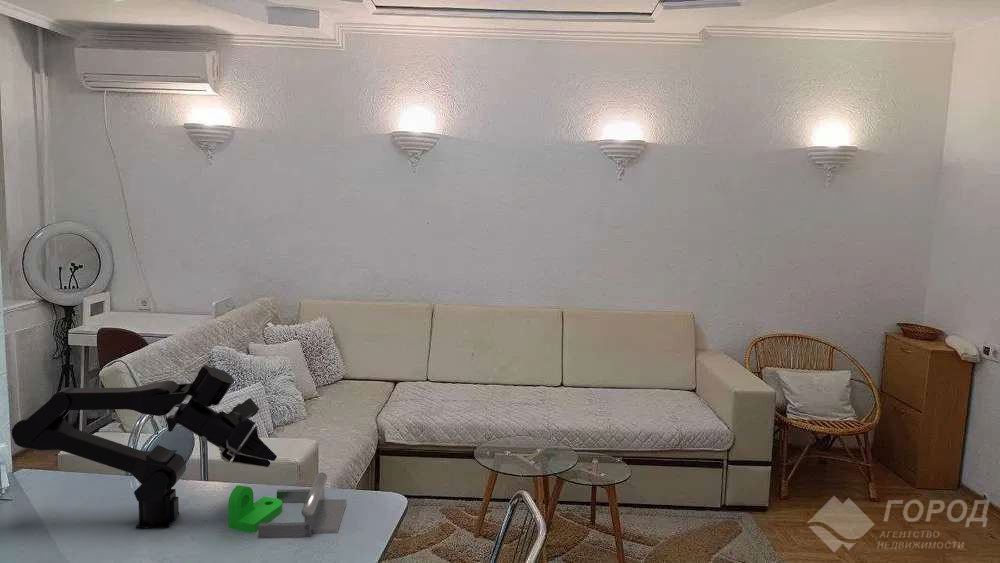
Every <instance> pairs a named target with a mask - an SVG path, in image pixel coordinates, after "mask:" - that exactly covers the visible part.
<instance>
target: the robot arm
mask: <svg viewBox="0 0 1000 563" xmlns="http://www.w3.org/2000/svg"><path fill="white" fill-rule="evenodd" d="M234 382H235V379H234V377H233V376H232V375H231V374H229V372H227V371H225V370H224V369H219V368H217V367H210V366H209V365H208V364H204V365H203V366H202V367H201V368H200V369H199V370H198V373H197V375H196V377H195V378H194V380H193V381H192V383H191V382H190V383H187V382H186V383H177V382H176V381H174V380H163V381H157V382H152V383H147V384H143V385H141V386H140V385H139V386H134V387H133V386H132V387H72V386H68V387H65V388H63V389H61V390H60V391H57V392H56V393H53V395H52V396H51V397H50V399H49V400H48V401H46V403H44V404H43V405H41V407H39V408H38V409H37V410H36V411H34V412H33V413H32V414H30V415H27V416H26V417H24V418H23V419H20V420H19V421H18V422H16V423H15V424H14V425H13V427H12V428H11V429H12V430H11V438H12V439H13V441H14V444H15V445H16V446H17V447H20V448H23V449H27V450H34V451H40V452H41V451H61V452H65V453H66V454H70V455H74V456H77V457H79V458H83V459H86V460H88V461H92V462H95V463H98V464H101V465H104V466H107V467H109V468H114V469H116V470H119V471H122V472H125V473H128V474H129V475H132V476H133V477H134V478H135V480H137V482H139V484H140V485H139V486H138V487H137V488H136V489H135V490H134V492H133V494H134V497H135V499H136V502H138V522H137V523H136V524H135V529H162V528H163V529H164V528H166V529H167V528H169V527H171V525H172V524H173V523H174V521H175V520H176V519H177V518H178V516H179V515H180V509H179V505H180V504H179V496H176V494H177V492H176V488H173V487H174V486H175V485H176V484H177V482H178V481H179V480H181V478H182V477H183V476H184V474H185V472H186V471H187V470H186V469H187V463H186V461H185V459H184V457H183V456H182V455H181V454H179V453H177V449H168V448H166V447H164V446H163V445H160V444H157V445H155V447H153V448H152V449H151V450H148V451H147V450H144V451H143V450H141V449H138V448H135V447H131V446H129V445H125V444H122V443H119V442H116V441H113V440H110V439H107V438H104V437H101V436H98V435H95V434H92V433H90V432H87V431H83V430H80V429H76V428H75V427H73V426H72V425H71V424H70V423H69V421H67V420H66V419H65V417H66V416H67V415H68V414H69V413H70V412H71V411H99V410H100V411H103V410H105V411H106V410H107V411H108V410H110V411H111V410H112V411H113V410H128V411H134V412H137V413H139V414H141V415H149V416H153V417H154V416H156V417H162V416H163V417H164V416H166V415H167V414H169V413H170V412H171V411H172V410H174V409H175V408H176V407H177V406H178V405H179V406H178V408H177V409H176V411H175V412H174V414H171V415H169V416H167V417H166V418H165V421H166V423H167V424H166V425H167V431H168V432H172V431H174V430H175V428H177V427H178V425H179V426H181V427H183V428H184V429H186V430H188V431H189V432H191V433H193V434H195V435H197V436H198V437H200V438H201V439H200V440H201V441H203V442H205V443H206V442H208V443H210V444H211V445H213V446H215V447H216V448H218V450H219V452H220V454H219V455H220V459H221V460H223V461H225V462H226V463H228V464H229V463H231V464H237V465H238V464H240V465H246V466H247V465H248V466H256V467H263V468H268V467H270V466H271V462H275V461H276V459H277V457H278V456H277V454H276V453H274V452H273V451H272V449H271V448H269V446H268V445H266V443H265V442H263V441H262V439H261V438H260V437H259V433H258V432H259V431H258V426H257V425H255V424H256V422H255V421H253V420H252V419H250V418H252V417H254V416H256V415H257V414H258V413H259V411H260V410H261V409H260V408H259V406H258V405H257V404H256V402H255V401H254V400H253V399H252V397H249V398H248V399H246V400H244V401H243V402H241V403H237V405H236V406H233V407H232V410H231V411H229V412H228V413H226V412H225V411H223V410H222V411H219V412H218V411H216V410H214V409H213V408H211V407H212V406H218V405H220V403H221V401H222V400H223V399H224V397H225V396H226V394H227V393H228V391H230V388H231V387H232V386H233V384H234ZM190 396H191V398H190V399H189V400H188V402H187V403H183V402H184V401H186V399H188V398H189V397H190ZM254 426H255V427H254ZM231 460H232V461H231Z"/></svg>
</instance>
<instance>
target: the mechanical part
mask: <svg viewBox="0 0 1000 563" xmlns="http://www.w3.org/2000/svg"><path fill="white" fill-rule="evenodd" d="M227 502H228V504H227V506H228V507H227V508H228V513H227V514H228V529H230V530H235V529H236V531H240V532H248V533H252V534H255V533H257V532H258V525H259V523H271V521H272V519H273V518H274V519H275V518H277V517H278V516H279V515H281V514H282V513H283V503H282V501H281V500H280V499H277V497H272V496H271V497H269V496H262V497H261V498H259V499H257V500H256V501H254V491H253V489H252V487H250V486H245V485H237V486H235V487H234V488H233V489H232V491H231V493H230V495H229V497H228V501H227ZM281 512H282V513H281ZM280 513H281V514H280ZM277 515H278V516H277ZM276 516H277V517H276ZM274 519H273V520H274Z"/></svg>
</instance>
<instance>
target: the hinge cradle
mask: <svg viewBox="0 0 1000 563" xmlns="http://www.w3.org/2000/svg"><path fill="white" fill-rule="evenodd" d="M327 480H328V475H327V474H326V473H324V472H319V473H318V474H317V475H316V476H315V479H314V481H313V484H312V486H311V488H310V489H309V488H307V489H305V488H304V489H301V488H300V489H298V488H297V489H277V490H276V498H277V499H280V500H281V501H282V504H283V503H284V502H285V503H286V504H287V503H296V504H297V503H304V505H303V507H302V509H301V515H302V517H304V521H303V522H300V521H299V522H296V521H295V522H268V523H259V525H258V531H257V533H258V539H260V538H262V539H264V538H265V539H267V538H312V534H334V533H335V534H338V533H339V528H340V526H341V522H342V519H343V515H344V511H345V509H346V505H347V499H346V498H345V499H344V498H343V499H339V498H338V499H337V498H336V499H333V498H332V499H325V495H326V494H325V488H326V487H325V486H326V483H327Z"/></svg>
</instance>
